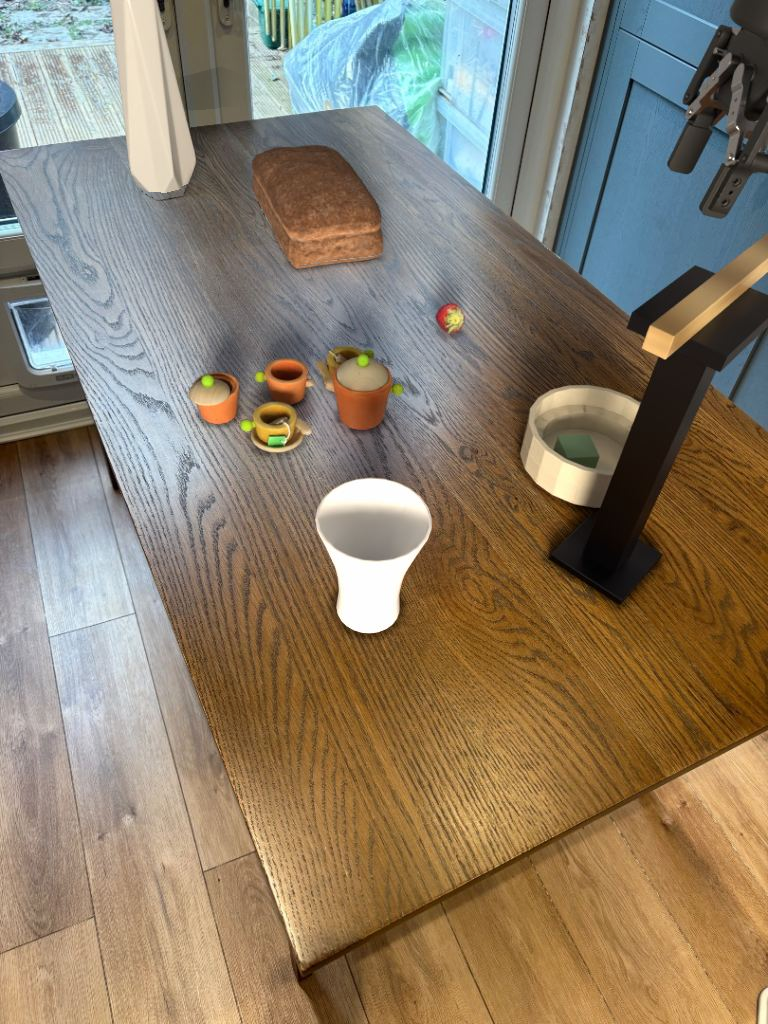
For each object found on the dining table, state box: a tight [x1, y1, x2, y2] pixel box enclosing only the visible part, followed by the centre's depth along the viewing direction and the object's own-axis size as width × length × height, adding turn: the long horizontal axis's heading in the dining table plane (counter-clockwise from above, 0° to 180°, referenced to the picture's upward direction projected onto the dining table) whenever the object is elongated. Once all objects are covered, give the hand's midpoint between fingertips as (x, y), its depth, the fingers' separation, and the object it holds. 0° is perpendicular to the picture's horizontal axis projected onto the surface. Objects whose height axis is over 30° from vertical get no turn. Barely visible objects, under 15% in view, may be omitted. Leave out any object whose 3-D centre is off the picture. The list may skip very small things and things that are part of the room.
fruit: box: [435, 302, 466, 335], centre depth 111 cm, size 4×6×5 cm
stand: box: [548, 264, 768, 606], centre depth 71 cm, size 11×9×32 cm
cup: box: [314, 477, 433, 634], centre depth 72 cm, size 10×10×14 cm
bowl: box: [519, 384, 641, 509], centre depth 92 cm, size 16×16×6 cm
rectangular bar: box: [641, 232, 768, 359], centre depth 60 cm, size 24×2×2 cm, turn 138°
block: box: [554, 434, 600, 469], centre depth 91 cm, size 4×4×4 cm
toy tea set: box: [188, 345, 404, 453], centre depth 94 cm, size 26×16×10 cm, turn 116°
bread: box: [251, 144, 384, 269], centre depth 129 cm, size 17×29×11 cm, turn 20°
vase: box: [109, 0, 197, 193], centre depth 127 cm, size 12×12×33 cm
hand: (693, 191), depth 62 cm, fingers open, 8 cm apart
